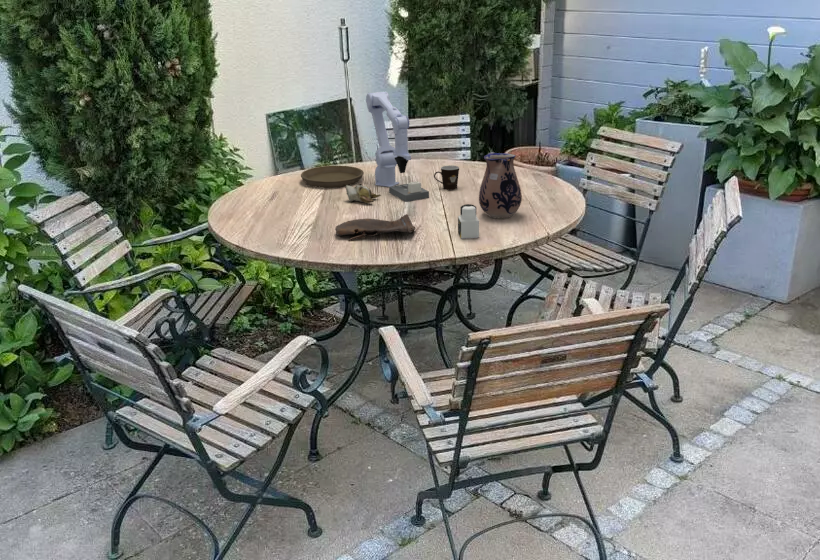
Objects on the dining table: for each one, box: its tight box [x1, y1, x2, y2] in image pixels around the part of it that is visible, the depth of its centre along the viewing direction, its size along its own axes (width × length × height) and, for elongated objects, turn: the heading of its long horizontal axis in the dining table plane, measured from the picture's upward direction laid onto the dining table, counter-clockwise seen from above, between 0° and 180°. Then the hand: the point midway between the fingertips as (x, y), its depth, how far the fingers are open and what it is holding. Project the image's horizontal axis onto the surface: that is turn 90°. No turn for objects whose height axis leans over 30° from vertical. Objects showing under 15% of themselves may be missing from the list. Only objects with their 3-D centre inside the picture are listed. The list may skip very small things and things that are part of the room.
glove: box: [334, 213, 416, 242], centre depth 283 cm, size 32×20×5 cm, turn 89°
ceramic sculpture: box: [345, 183, 382, 204], centre depth 322 cm, size 11×9×15 cm
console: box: [388, 183, 430, 203], centre depth 330 cm, size 17×12×3 cm
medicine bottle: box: [457, 203, 480, 240], centre depth 275 cm, size 7×7×12 cm
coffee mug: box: [433, 165, 460, 191], centre depth 337 cm, size 12×9×10 cm
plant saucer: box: [300, 165, 364, 189], centre depth 357 cm, size 31×31×5 cm
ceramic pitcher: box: [478, 151, 523, 219], centre depth 295 cm, size 18×21×25 cm
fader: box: [407, 180, 422, 193], centre depth 323 cm, size 3×5×4 cm, turn 117°
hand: (402, 172), depth 332 cm, fingers closed
